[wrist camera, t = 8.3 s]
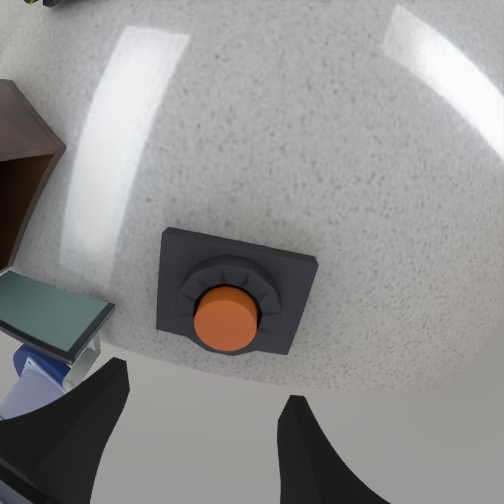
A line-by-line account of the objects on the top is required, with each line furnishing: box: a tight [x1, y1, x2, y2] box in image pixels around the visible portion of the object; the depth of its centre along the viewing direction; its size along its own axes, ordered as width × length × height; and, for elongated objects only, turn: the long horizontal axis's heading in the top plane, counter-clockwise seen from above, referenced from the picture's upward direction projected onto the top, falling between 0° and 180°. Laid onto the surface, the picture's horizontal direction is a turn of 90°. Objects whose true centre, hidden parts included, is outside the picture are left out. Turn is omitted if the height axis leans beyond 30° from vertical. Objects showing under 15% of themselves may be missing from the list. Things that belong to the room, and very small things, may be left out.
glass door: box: [0, 271, 115, 392], centre depth 16 cm, size 5×13×7 cm, turn 80°
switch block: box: [156, 227, 318, 356], centre depth 18 cm, size 10×8×3 cm
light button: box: [194, 286, 257, 351], centre depth 16 cm, size 4×4×2 cm
